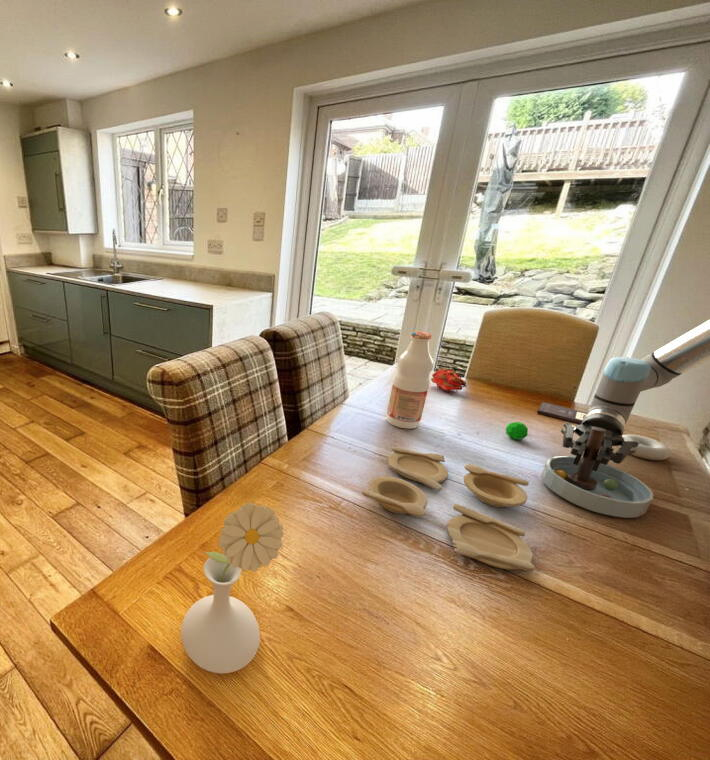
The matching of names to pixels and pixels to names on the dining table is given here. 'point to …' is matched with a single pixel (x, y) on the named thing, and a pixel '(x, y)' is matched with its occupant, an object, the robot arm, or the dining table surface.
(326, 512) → the dining table surface
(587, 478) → the brown wooden peg
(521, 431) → the polyhedron
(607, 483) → the bead
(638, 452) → the donut
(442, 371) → the dragon fruit
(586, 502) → the bowl
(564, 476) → the bead
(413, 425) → the fruit juice
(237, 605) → the flower in vase
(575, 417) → the chocolate bar
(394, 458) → the tableware set
